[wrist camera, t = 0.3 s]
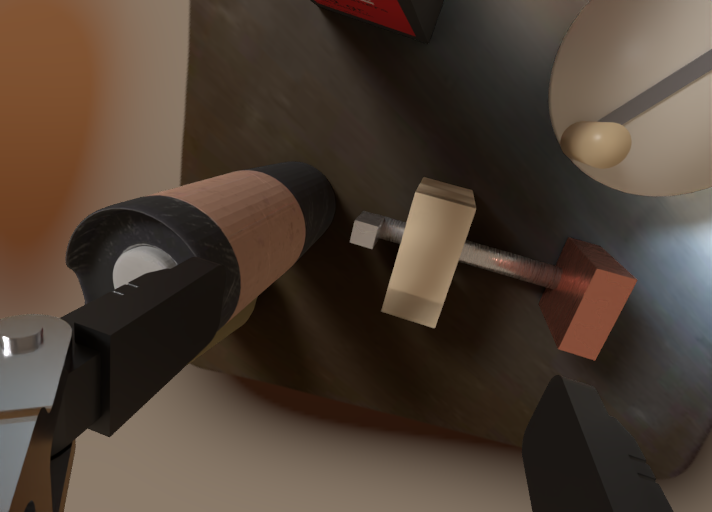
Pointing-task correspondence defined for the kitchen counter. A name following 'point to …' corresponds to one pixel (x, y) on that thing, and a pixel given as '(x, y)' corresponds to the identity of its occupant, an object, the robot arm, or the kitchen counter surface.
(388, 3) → the cleaning product box
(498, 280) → the kitchen counter surface
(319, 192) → the travel mug
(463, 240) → the block
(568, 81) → the handwheel
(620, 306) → the hook rod
